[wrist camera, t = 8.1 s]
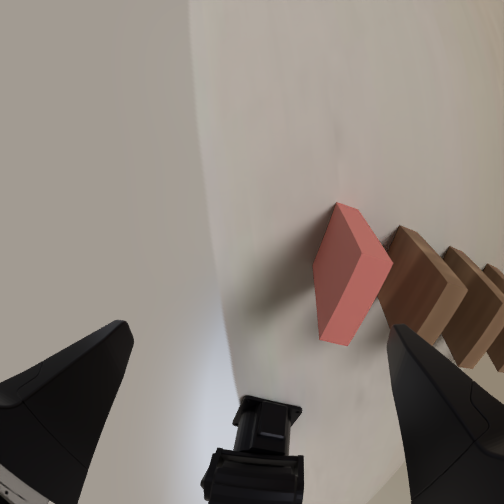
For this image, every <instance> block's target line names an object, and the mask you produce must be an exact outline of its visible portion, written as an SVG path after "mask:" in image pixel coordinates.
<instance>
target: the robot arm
mask: <svg viewBox="0 0 504 504" xmlns="http://www.w3.org/2000/svg"><path fill="white" fill-rule="evenodd" d="M133 344H134V339H133V335H132V333H131V331H130V328H129V325H128V323H127V322H126V321H123V320H115V321H113V322H111V323H110V324H108V325H106V326H105V327H102V328H101V329H99V330H97V331H95V332H93V333H92V334H90V335H88V336H86V337H85V338H83V339H81V340H79V341H77V342H76V343H74V344H72V345H70V346H69V347H67V348H65V349H63V350H61V351H60V352H58V353H56V354H54V355H53V356H51V357H49V358H47V359H46V360H44V361H42V362H40V363H38V364H37V365H35V366H33V367H31V368H30V369H28V370H26V371H24V372H22V373H20V374H18V375H16V376H14V377H11V378H9V379H7V380H5V381H3V382H1V383H0V504H48V502H49V500H50V501H51V502H53V503H55V504H78V500H79V497H80V494H81V491H82V487H83V484H84V481H85V478H86V475H87V472H88V469H89V466H90V463H91V460H92V457H93V454H94V452H95V448H96V446H97V443H98V440H99V438H100V435H101V432H102V430H103V427H104V424H105V422H106V419H107V417H108V414H109V412H110V409H111V406H112V404H113V401H114V399H115V397H116V394H117V392H118V389H119V387H120V384H121V382H122V379H123V377H124V374H125V370H126V367H127V364H128V360H129V357H130V354H131V351H132V348H133ZM387 354H388V362H389V369H390V378H391V386H392V392H393V397H394V401H395V406H396V410H397V415H398V420H399V425H400V430H401V435H402V441H403V446H404V452H405V458H406V465H407V471H408V478H409V487H410V495H411V500H412V501H411V504H504V404H502V403H501V402H499V401H498V400H497V399H496V398H494V397H493V396H491V395H490V394H489V393H488V392H487V391H485V390H484V389H483V388H482V387H480V386H479V385H478V384H477V383H476V382H475V381H473V380H472V379H471V378H470V377H469V376H468V375H466V374H465V373H464V372H463V371H462V370H461V369H459V368H458V367H457V366H456V365H455V364H453V363H452V362H451V361H450V360H449V359H447V358H446V357H445V356H444V355H443V354H441V353H440V352H439V351H438V350H437V349H435V348H434V347H433V346H432V345H430V344H429V343H428V342H427V341H425V340H424V339H423V338H422V337H421V336H419V335H418V334H417V333H416V332H414V331H413V330H412V329H411V328H409V327H408V326H407V325H405V324H394V325H392V327H391V330H390V334H389V338H388V342H387ZM301 413H302V408H301V407H297V406H292V405H287V404H282V403H278V402H273V401H269V400H264V399H260V398H256V397H252V396H245V397H244V398H243V401H242V403H241V405H240V407H239V409H238V411H237V413H236V416H235V418H234V420H233V423H232V424H233V425H234V426H237V427H238V430H237V436H236V440H235V445H234V449H233V451H232V450H224V449H222V448H217V450H216V453H214V454H213V455H212V459H211V462H210V465H209V468H208V470H207V471H206V473H205V475H204V477H203V479H202V480H201V487H202V488H203V489H204V499H205V500H206V501H209V502H208V504H302V500H303V492H304V456H303V455H298V456H289V443H290V428H291V426H292V425H293V424H294V422H295V421H296V420H297V418H298V417H299V416H300V415H301Z"/></svg>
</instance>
